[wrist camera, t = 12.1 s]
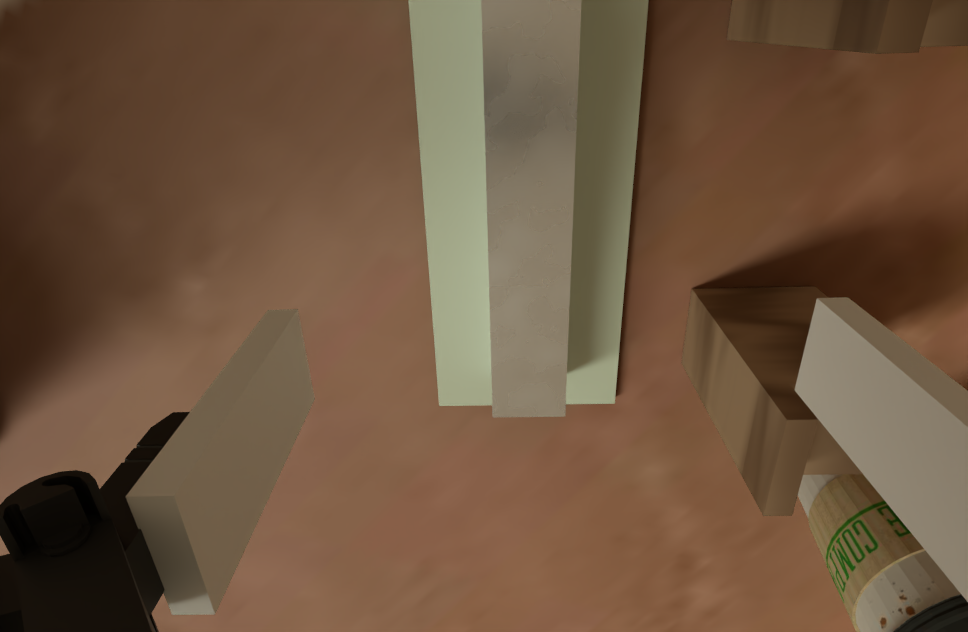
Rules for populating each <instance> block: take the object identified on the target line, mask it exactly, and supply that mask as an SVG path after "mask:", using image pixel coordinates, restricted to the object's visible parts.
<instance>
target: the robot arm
mask: <svg viewBox="0 0 968 632" xmlns="http://www.w3.org/2000/svg"><path fill="white" fill-rule="evenodd" d="M795 391H796V393H797V394H798V395H799V396H800V398H801V399H802V400H803V401H804V402H805V404H806V405H807V406H808V407H809V409H810V410H811V411H812V412H813V413H814V415H815V416H816V417H817V418H818V420H819V421H820V422H821V423H822V424H823V426H824V427H825V428H826V429H827V431H828V432H829V433H830V434H831V435H832V437H833V438H834V439H835V440H836V442H837V443H838V444H839V445H840V446H841V448H842V449H843V450H844V451H845V453H846V454H847V455H848V456H849V457H850V459H851V460H852V461H853V462H854V464H855V465H856V466H857V467H858V468H859V470H860V471H861V472H862V473H863V475H864V476H865V477H866V478H867V480H868V481H869V482H870V483H871V484H872V486H873V487H874V488H875V489H876V491H877V492H878V493H879V494H880V495H881V497H882V498H883V499H884V500H885V502H886V503H887V504H888V505H889V506H890V508H891V509H892V510H893V511H894V513H895V514H896V515H897V516H898V517H899V519H900V520H901V521H902V522H903V524H904V525H905V526H906V527H907V528H908V530H909V531H910V532H911V533H912V535H913V536H914V537H915V538H916V539H917V541H918V542H919V543H920V544H921V546H922V547H923V548H924V549H925V550H926V552H927V553H928V554H929V555H930V557H931V558H932V559H933V560H934V561H935V563H936V564H937V565H938V566H939V568H940V569H941V570H942V571H943V572H944V574H945V575H946V576H947V577H948V579H949V580H950V581H951V582H952V583H953V585H954V586H955V587H956V588H957V590H958V591H959V592H960V593H961V594H962V596H963V597H964V598H965V599H966V601H967V602H968V391H967V390H966V389H965V388H963V387H962V386H961V385H959V384H958V383H957V382H956V381H954V380H953V379H952V378H951V377H949V376H948V375H947V374H945V373H944V372H943V371H942V370H940V369H939V368H938V367H936V366H935V365H934V364H933V363H931V362H930V361H929V360H927V359H926V358H925V357H924V356H922V355H921V354H920V353H918V352H917V351H916V350H915V349H913V348H912V347H911V346H910V345H908V344H907V343H906V342H904V341H903V340H902V339H901V338H899V337H898V336H897V335H895V334H894V333H893V332H892V331H890V330H889V329H888V328H886V327H885V326H884V325H883V324H881V323H880V322H879V321H877V320H876V319H875V318H874V317H872V316H871V315H870V314H869V313H867V312H866V311H865V310H863V309H862V308H861V307H860V306H858V305H857V304H856V303H854V302H853V301H852V300H851V299H849V298H848V297H843V298H817V300H816V304H815V308H814V312H813V316H812V320H811V324H810V328H809V333H808V337H807V341H806V345H805V349H804V353H803V357H802V361H801V365H800V369H799V373H798V378H797V382H796V386H795ZM314 399H315V398H314V393H313V387H312V382H311V377H310V371H309V366H308V361H307V356H306V350H305V345H304V340H303V334H302V329H301V324H300V318H299V313H298V309H293V310H268V311H267V312H266V313H265V315H264V316H263V317H262V319H261V320H260V321H259V323H258V324H257V325H256V327H255V328H254V329H253V330H252V332H251V333H250V334H249V336H248V337H247V338H246V340H245V341H244V342H243V344H242V345H241V346H240V347H239V349H238V350H237V351H236V353H235V354H234V355H233V357H232V358H231V359H230V361H229V362H228V363H227V365H226V366H225V367H224V368H223V370H222V371H221V372H220V374H219V375H218V376H217V378H216V379H215V380H214V382H213V383H212V384H211V385H210V387H209V388H208V389H207V391H206V392H205V393H204V395H203V396H202V397H201V399H200V400H199V401H198V402H197V404H196V405H195V406H194V408H193V409H192V410H191V412H173V413H172V414H170V415H169V416H167V417H166V418H164V419H163V420H161V421H160V422H158V423H157V424H156V425H154V426H153V427H151V428H150V429H149V431H148V432H147V433H146V434H145V435H144V437H143V438H142V439H141V440H140V442H139V443H138V444H137V448H134V449H133V450H132V451H131V452H130V454H129V455H128V456H127V457H126V458H125V462H124V463H121V464H120V466H119V467H118V468H117V469H116V470H115V472H114V473H113V474H112V475H111V476H110V478H109V479H108V480H107V481H106V482H105V484H104V485H103V486H102V487H101V488H100V490H99V487H98V485H97V482H96V480H95V479H94V478H93V477H92V476H91V475H90V474H89V473H86V472H82V471H77V470H75V471H64V472H58V473H54V474H51V475H47V476H44V477H41V478H39V479H37V480H35V481H33V482H30V483H28V484H26V485H24V486H22V487H21V488H19V489H18V490H17V491H15V492H14V493H12V494H11V495H10V496H8V497H7V498H6V499H5V500H4V501H3V502H2V504H1V505H0V536H1V538H2V540H3V541H4V543H5V545H6V547H7V549H8V551H9V553H10V554H7V555H3V556H0V632H159V631H158V629H157V626H156V623H155V621H154V619H153V616H152V614H151V613H152V611H153V610H154V608H155V606H156V604H157V603H158V601H159V599H160V597H161V596H162V594H163V593H164V595H165V598H166V600H167V603H168V605H169V608H170V611H171V613H172V615H197V614H215V613H216V611H217V609H218V607H219V605H220V602H221V600H222V598H223V596H224V594H225V592H226V590H227V587H228V585H229V583H230V581H231V579H232V577H233V574H234V572H235V570H236V568H237V566H238V564H239V561H240V559H241V557H242V555H243V553H244V551H245V548H246V546H247V544H248V542H249V540H250V538H251V535H252V533H253V531H254V529H255V527H256V525H257V523H258V520H259V518H260V516H261V514H262V512H263V510H264V507H265V505H266V503H267V501H268V499H269V497H270V494H271V492H272V490H273V488H274V486H275V484H276V481H277V479H278V477H279V475H280V473H281V471H282V469H283V466H284V464H285V462H286V460H287V458H288V456H289V453H290V451H291V449H292V447H293V445H294V443H295V440H296V438H297V436H298V434H299V432H300V430H301V427H302V425H303V423H304V421H305V419H306V417H307V414H308V412H309V410H310V408H311V406H312V404H313V402H314Z"/></svg>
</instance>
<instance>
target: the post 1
mask: <svg viewBox="0 0 968 632" xmlns="http://www.w3.org/2000/svg"><path fill="white" fill-rule="evenodd" d="M727 40H734V41H744V42H755V43H766V44H777V45H788V46H799V47H810V48H821V49H831V50H842V51H853V52H864V53H875V54H881V53H914V52H919V49H920V47H935V46H968V0H732V4H731V12H730V19H729V26H728V33H727Z"/></svg>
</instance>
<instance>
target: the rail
mask: <svg viewBox="0 0 968 632" xmlns="http://www.w3.org/2000/svg"><path fill="white" fill-rule="evenodd" d="M581 1H582V0H481V11H482V48H483V84H484V121H485V157H486V194H487V230H488V266H489V303H490V339H491V376H492V412H493V417H558V416H565V407H566V382H567V356H568V331H569V306H570V280H571V255H572V229H573V204H574V179H575V153H576V128H577V102H578V77H579V52H580V26H581Z"/></svg>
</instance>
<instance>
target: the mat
mask: <svg viewBox="0 0 968 632" xmlns="http://www.w3.org/2000/svg"><path fill="white" fill-rule="evenodd" d="M648 1H649V0H582V1H581V26H580V52H579V77H578V102H577V128H576V153H575V179H574V204H573V229H572V255H571V280H570V306H569V331H568V356H567V382H566V404H615V394H616V382H617V370H618V358H619V347H620V335H621V323H622V311H623V299H624V287H625V275H626V263H627V251H628V239H629V228H630V216H631V204H632V192H633V180H634V168H635V156H636V144H637V132H638V120H639V109H640V97H641V85H642V73H643V61H644V49H645V37H646V25H647V13H648ZM409 14H410V27H411V40H412V53H413V66H414V79H415V93H416V106H417V119H418V132H419V145H420V158H421V172H422V185H423V198H424V211H425V224H426V238H427V251H428V264H429V277H430V290H431V303H432V317H433V330H434V343H435V356H436V369H437V382H438V396H439V406H464V405H492V376H491V339H490V303H489V266H488V230H487V194H486V157H485V121H484V84H483V48H482V11H481V0H409Z"/></svg>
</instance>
